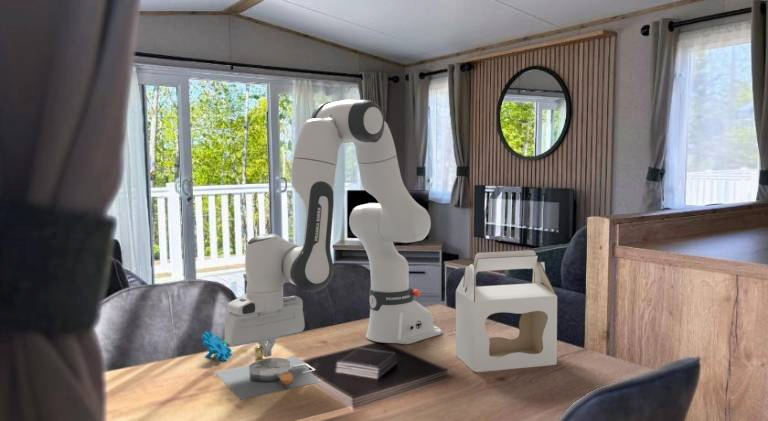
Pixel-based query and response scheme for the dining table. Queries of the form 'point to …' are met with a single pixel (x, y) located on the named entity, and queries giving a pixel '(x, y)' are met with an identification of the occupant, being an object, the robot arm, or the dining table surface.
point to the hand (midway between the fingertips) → (267, 356)
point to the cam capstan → (270, 369)
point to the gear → (216, 346)
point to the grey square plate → (249, 388)
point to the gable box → (524, 299)
